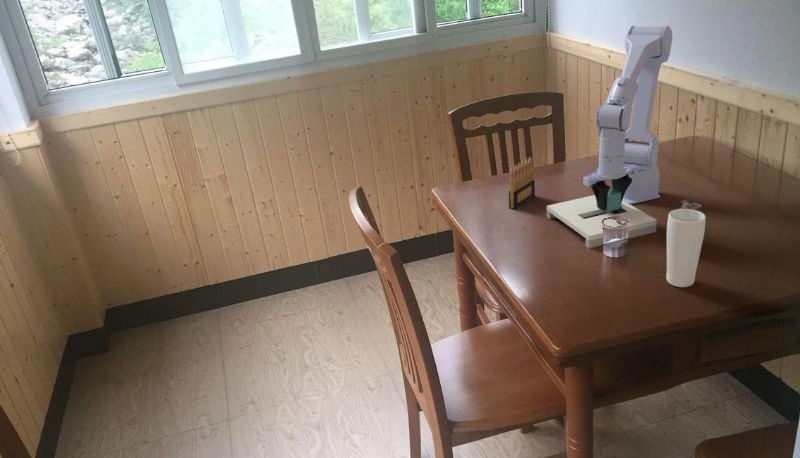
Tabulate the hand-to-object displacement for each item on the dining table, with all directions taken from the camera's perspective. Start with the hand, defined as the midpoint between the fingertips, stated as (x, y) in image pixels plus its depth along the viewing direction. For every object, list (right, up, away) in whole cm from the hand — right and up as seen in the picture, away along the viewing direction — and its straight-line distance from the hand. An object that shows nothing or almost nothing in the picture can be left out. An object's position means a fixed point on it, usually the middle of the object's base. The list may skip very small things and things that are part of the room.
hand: (609, 206), depth 152 cm
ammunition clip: (-18, +2, +19) cm, 26 cm away
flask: (+12, -9, -12) cm, 20 cm away
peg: (0, -4, +2) cm, 4 cm away
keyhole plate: (-2, -4, +1) cm, 5 cm away
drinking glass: (+6, -17, -26) cm, 32 cm away
